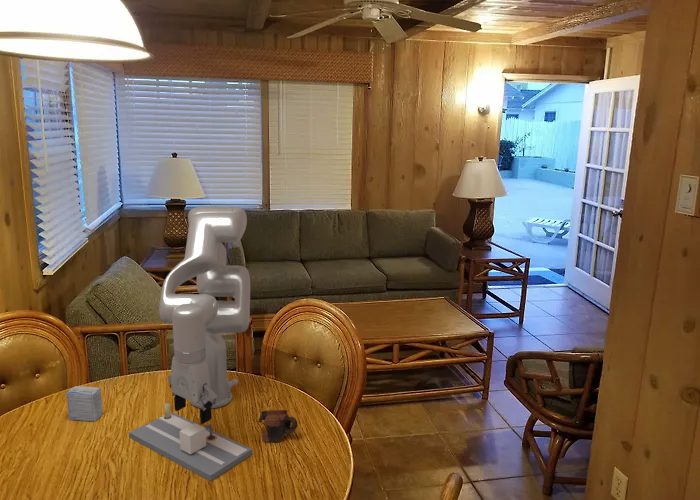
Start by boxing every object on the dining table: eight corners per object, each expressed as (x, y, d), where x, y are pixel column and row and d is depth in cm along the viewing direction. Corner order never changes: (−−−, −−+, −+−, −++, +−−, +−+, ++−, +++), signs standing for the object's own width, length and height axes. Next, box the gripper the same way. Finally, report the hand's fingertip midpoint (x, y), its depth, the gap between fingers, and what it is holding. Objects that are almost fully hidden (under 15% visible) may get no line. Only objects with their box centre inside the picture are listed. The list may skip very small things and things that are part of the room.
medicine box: (103, 414, 161) (101, 387, 159) (94, 422, 157) (92, 394, 155) (77, 412, 162) (75, 385, 160) (68, 420, 157) (65, 392, 156)
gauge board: (172, 416, 161) (171, 398, 160) (252, 454, 143) (252, 434, 142) (129, 437, 150) (127, 417, 148) (210, 481, 132) (209, 459, 131)
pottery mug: (251, 443, 150) (251, 411, 152) (269, 441, 158) (268, 411, 161) (291, 441, 145) (290, 408, 148) (307, 440, 154) (306, 409, 156)
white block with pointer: (207, 434, 148) (206, 417, 147) (217, 439, 146) (217, 421, 145) (180, 449, 141) (179, 431, 140) (190, 454, 139) (190, 436, 138)
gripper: (155, 349, 139) (159, 410, 143) (202, 369, 129) (204, 433, 134) (179, 339, 145) (182, 398, 149) (226, 357, 135) (227, 420, 140)
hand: (193, 415), depth 142 cm, fingers open, 9 cm apart
